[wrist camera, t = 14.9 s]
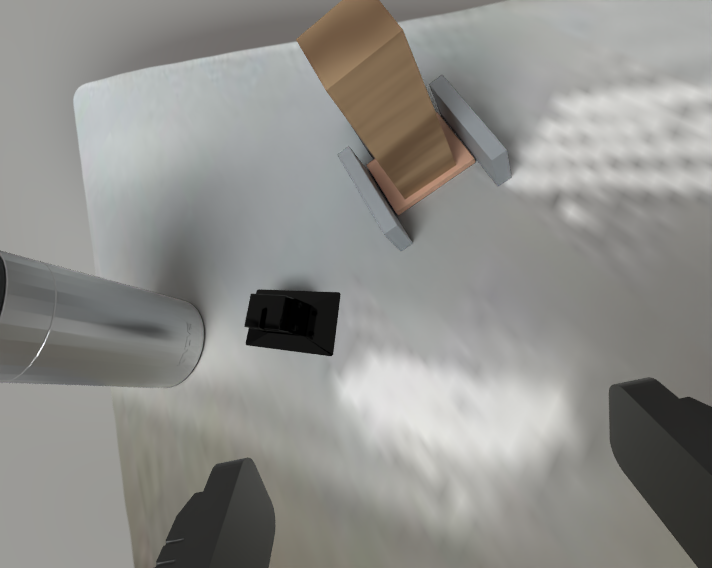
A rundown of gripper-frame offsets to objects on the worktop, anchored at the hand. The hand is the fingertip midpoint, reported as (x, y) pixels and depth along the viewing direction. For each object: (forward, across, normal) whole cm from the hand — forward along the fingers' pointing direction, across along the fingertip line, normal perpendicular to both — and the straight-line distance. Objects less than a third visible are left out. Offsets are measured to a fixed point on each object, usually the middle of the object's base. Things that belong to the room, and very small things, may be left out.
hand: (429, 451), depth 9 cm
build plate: (+27, +9, +8) cm, 30 cm away
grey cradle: (+29, -5, -1) cm, 29 cm away
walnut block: (+30, -5, -3) cm, 30 cm away
